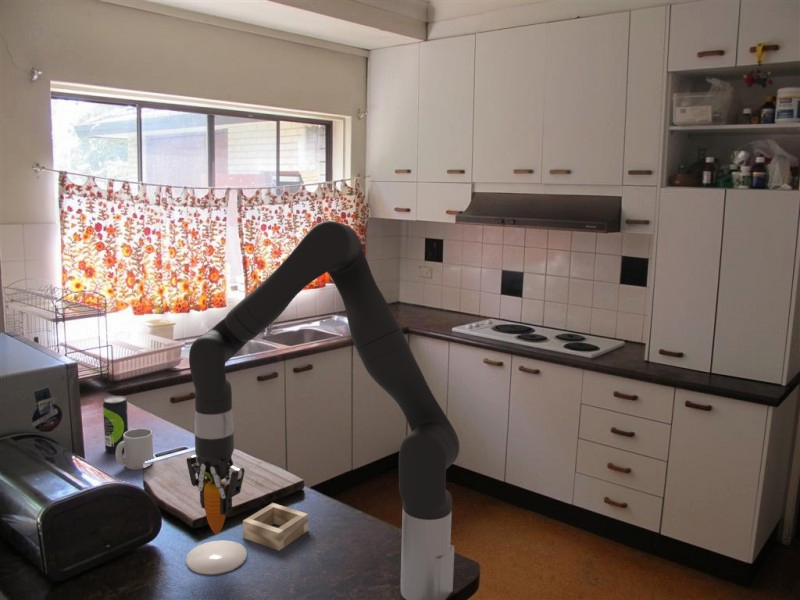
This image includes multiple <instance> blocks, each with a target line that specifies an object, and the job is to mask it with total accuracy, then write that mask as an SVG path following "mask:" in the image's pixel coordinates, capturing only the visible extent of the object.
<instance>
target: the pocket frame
mask: <svg viewBox="0 0 800 600" xmlns="http://www.w3.org/2000/svg"><path fill="white" fill-rule="evenodd" d="M274 524H275V525H277V526H279V527H276V526H273V525H274ZM308 524H309V514H308V513H306V512H302V511H301V510H296V509H293V508H290V507H287V506H284V505H280V504H278V503H274V502H271V503H270V504H269V505H267V506H265V507H264V508H261V509H260V510H258V511H257V512H255V513H253V514H252V515H250V516H248V517H247V518H245V519H243V520H242V538H243V539H246V540H248V541H251V542H253V543H257V544H259V545H262V546H265V547H268V548H270V549H274V550H276V551H278V552H279V551H281V550H282V549H284V548H285V547H287V546H289V544H291V543H293V542H294V541H296V540H297V539H298V538H300V537H301V536H302V535H304V534H305V533H307V532H308V531H309V525H308Z"/></svg>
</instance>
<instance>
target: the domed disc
mask: <svg viewBox="0 0 800 600" xmlns="http://www.w3.org/2000/svg"><path fill="white" fill-rule="evenodd" d="M247 555H248V554H247V549H246V548H245V546H243V544H241V543H239V542H237V541H233V540H221V539H220V540H213V541H209V542H205V543H201V544H199V545H197V546H195V547H194V548H192V549H191V550H190V551H189V552H188V553H187V556H186V559H185V562H186V566H187V567H188V569H189V570H190V571H192V572H194V573H197V574H199V575H200V574H201V575H221V574H225V573H228V572H231V571H233V570H236V569H237V568H239V567H240V566H241V565H243V564H244V563H245V561H246V559H247V557H248V556H247Z"/></svg>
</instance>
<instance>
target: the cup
mask: <svg viewBox="0 0 800 600" xmlns="http://www.w3.org/2000/svg"><path fill="white" fill-rule="evenodd" d="M123 437H124V441H122V442H120V443H119V444H118V445H117V448H116V452H115V453H114V454H115V459H116V462H117V463H118V465H120V466H125V468H126V469H128V470H132V471H138V470H139V471H140V470H144V469H143V463H144V462H145V461H148V460H151V459H153V460H154V447H153V446H154V444H153V443H154V442H153V431H152V429H150V428H135V429H133V428H132V429H128V431H127V432H125V433H124V434H123ZM123 447H124V452H122V449H123ZM123 453H124V457H123Z"/></svg>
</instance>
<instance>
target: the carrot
mask: <svg viewBox="0 0 800 600" xmlns="http://www.w3.org/2000/svg"><path fill="white" fill-rule="evenodd" d="M203 475H206V476H208V477H209V478H210V480H211V481H209V482H207V483H206V484H205V486H204V505H205V509H204V511H205V516H206V520H207V523H208V525H209V527H210V530H212V532H213V533H214V534H215V535H218V534H219V533H220V532H221V531H222V529H223V526H224V523H225V520H226V515H227V514H226V515H222V514H221V501H220V498H221V495H220V491H219V488H217V487H216V484H215V481H214V480H213V479H212V478H211V476H210V473H208V472H203ZM222 481H224V479H223V480H221V482H222ZM225 491H227V487H226V486H225Z"/></svg>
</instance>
